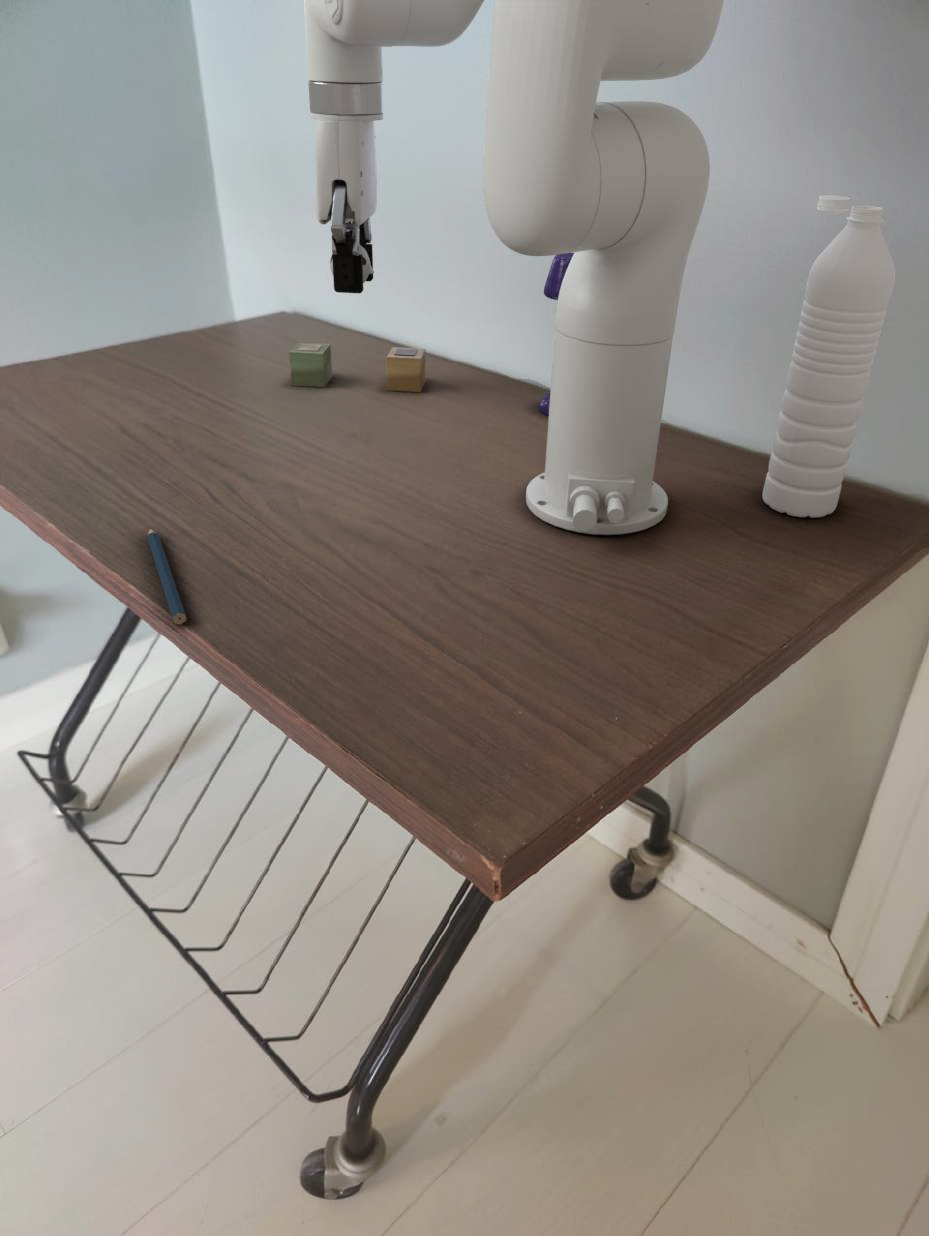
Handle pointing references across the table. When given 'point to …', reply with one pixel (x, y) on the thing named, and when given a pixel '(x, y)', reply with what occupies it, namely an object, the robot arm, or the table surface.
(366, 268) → the figurine
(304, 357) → the block row
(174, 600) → the pencil
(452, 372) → the table surface
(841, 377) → the water bottle
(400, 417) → the table surface
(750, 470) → the table surface
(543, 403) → the toy lamp
